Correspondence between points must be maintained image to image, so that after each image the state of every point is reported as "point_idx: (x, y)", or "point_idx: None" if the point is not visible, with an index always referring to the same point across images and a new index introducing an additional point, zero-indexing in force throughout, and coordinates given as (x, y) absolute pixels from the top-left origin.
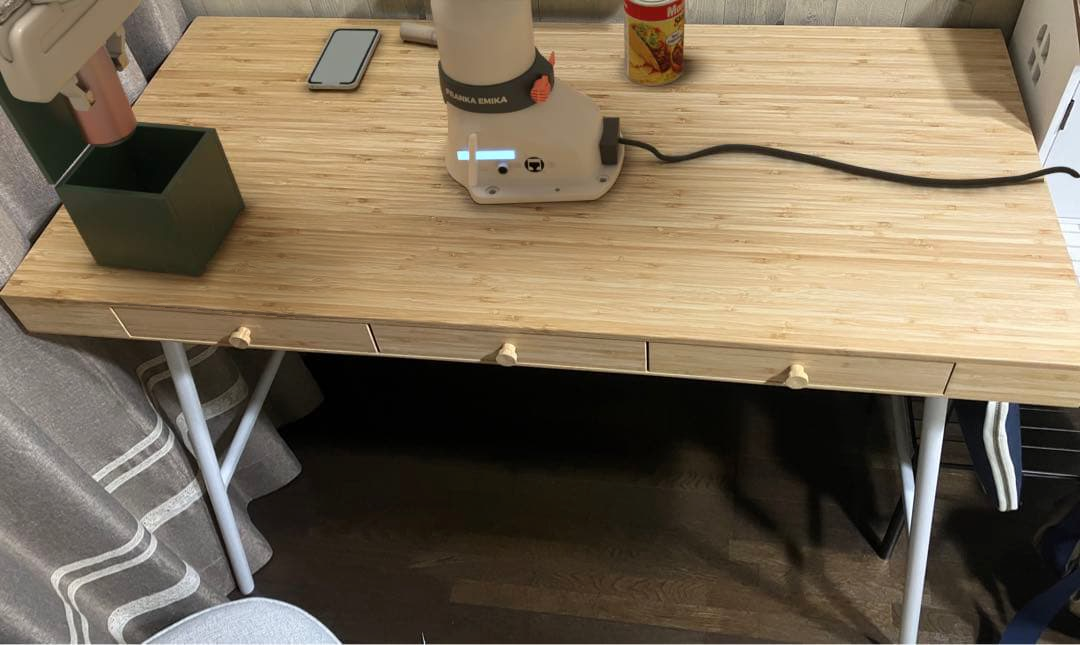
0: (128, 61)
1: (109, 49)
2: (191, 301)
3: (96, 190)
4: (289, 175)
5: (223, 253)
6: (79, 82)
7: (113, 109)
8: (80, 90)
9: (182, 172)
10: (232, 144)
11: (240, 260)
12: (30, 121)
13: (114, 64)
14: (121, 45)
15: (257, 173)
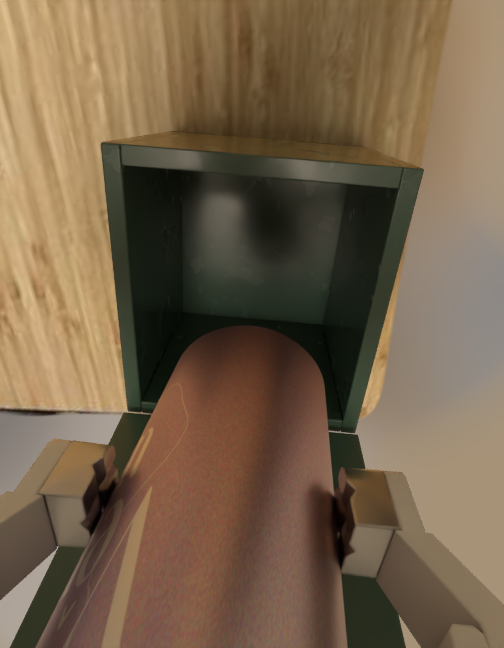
0: (53, 446)
1: (41, 548)
2: (425, 139)
3: (370, 353)
4: (68, 65)
5: (301, 125)
6: (338, 583)
7: (284, 397)
8: (440, 569)
9: (306, 162)
10: (23, 225)
11: (320, 78)
12: (347, 576)
13: (99, 488)
14: (2, 522)
15: (81, 143)
